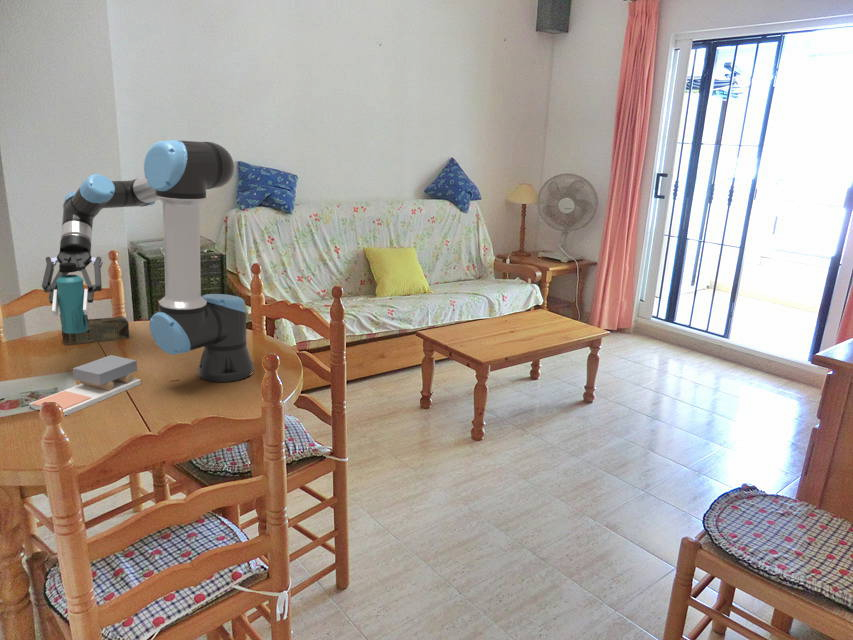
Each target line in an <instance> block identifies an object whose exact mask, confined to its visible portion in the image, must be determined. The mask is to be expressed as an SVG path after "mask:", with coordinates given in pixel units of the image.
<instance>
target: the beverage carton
mask: <svg viewBox="0 0 853 640" xmlns="http://www.w3.org/2000/svg"><path fill="white" fill-rule="evenodd" d="M88 322H89V324H88V325H89V326H88V330H87V331H85V332H82V333H75V334H69V333H64V332H63V330H62V329H61V336H62V340H63V343H64V346H71V345H80V344H89V343H98V342H99V343H100V342H107V341H109V342H110V341H118V340H119V341H120V340H126V339H128V340H129V339H130V329H129V328H130V325H129V320H128V319H127V318H126V316H116V317H105V318H102V317H101V318H90V319H89V318H88Z"/></svg>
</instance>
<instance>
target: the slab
mask: <svg viewBox="0 0 853 640" xmlns="http://www.w3.org/2000/svg"><path fill="white" fill-rule="evenodd" d="M137 371H138V365H137V360H135V359H130V358H126V357H122V356H117V355H113V354H110V355H107V356H104V357H101V358H99V359H95V360H93V361H91V362H87V363H84V364H82V365H78V366H76V367H73V368H72V373H73V380H75V381H83V382H87V383H92V384H96V385H103V384H105V383H108V382H111V381H113V380H116V379H118V378H121V377H123V376H126V375H128V374H131V375H132V374H134V373H135V372H137Z"/></svg>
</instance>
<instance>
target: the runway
mask: <svg viewBox="0 0 853 640" xmlns="http://www.w3.org/2000/svg"><path fill="white" fill-rule="evenodd" d="M139 385H142V381H141V379H139V378H134V377H133V375H132V373H131V374H128V375H126V376H123V377H121V378H118V379H116V380H113V381H111V382H108V383H105V384H103V385H96V384H92V383H87V382H83V381H80V383H79V384H77V385H74V386H72V387H69V388H66V389H64V390H61V391H59V392H56V393H53V394H50V395H49V396H46V397H43V398H40V399H37V400H35V401H32V402H30V403H28V406H29V405H32V406H35V407H38V408H39V407H40V405H41V404H42V403H44V402H56V403H57V404H59V405H60V406H61V407H62V409H63V412H64V417H66V416H65V415H67V416H69V415H71V414H74V413H77V412H79V411H80V410H82V409H85V408H87V407H90V406H92V405H95V404H97V403H100V402H102V401H104V400H106V399H109V398H111V397H114V396H116V395H118V394H120V393H123V392H125V391H127V390H130V389H132V388H135V387H137V386H139Z"/></svg>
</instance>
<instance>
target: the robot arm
mask: <svg viewBox="0 0 853 640" xmlns="http://www.w3.org/2000/svg"><path fill="white" fill-rule="evenodd" d="M143 173H144V175H143V176H140V177H138V178H135V179H131V180H111V179H110V178H109V177H107V176H104V175H102V174H100V173H95V174H91V175H88V177H87V178H86V180H84V181H83V182H82V183H81V184H80V187H78V189H77V190H76V191H72V192H69V193H67V194H66V195H65V198H64V201H63V203H62V204H63V205H62V209H63V210H62V211H63V212H62V224H61V233H60V243H59V253H58V254H57V256H55V257H50V256H46V257H45V262H46V266H45V271H44V274H43V280H42V283H41V287H42V289H43V292H44V293H49V294H48V301H49V303H50V304H51V312H52V314H53V316H54V317H58V315H59V299H58V290H57V283H56V280H57V279H58V278H59V277H60V276H62V275H69V273H62V272H59V270H58V271H57V273H56V274H55V276H54V278H53V275H54V270H55V267H56V265H57V263H59V264H62V263H75V264H76V267H77V271H76V272H81V274H82V277H83V280H84V282H85V285H86V288H84V302H83V311H84V314H85V315H87V316H88V315H89V310H90V309H89V308H90V307H89V306H90V303H91V304H92V303H94V297H95V295H94V294H95V292H101V291H102V290H103V288H102V273H101V272H102V271H101V268H102V266H103V260H102V257H101V256H97V257H93V256H92V254H91V253H92V239H93V237H92V235H93V224H94V219H95V217H96V216H97V215H98V214H99V213H100V212H101V211H102V210H103V209H112V208H113V209H114V208H115V209H116V208H128V207H129V208H131V207H133V208H134V207H140V208H142V207H147V206H153V205H155V203H156V201H160V202H162V220H163V221H162V223H163V224H162V225H163V251H164V252H163V255H164V257H163V258H164V286H165V287H164V289H165V291H164V292H165V293H164V294H165V295H164V296H163V297H162V298H161V299H160V300H159V302H158V304H159V305H158V306H159V307H158V308H159V311H157V312H156V313H154V314H153V315H152V316H151V318H150V320H149V330H150V334H151V337H152V339H153V341H154V342H155V344H156V345H157V346H158V347H159V349H160V350H162V351H163V352H164V353H166V354H168V355H174V356H175V355H179V354H186V353H189V352H190V351H193V350H197V349H200V348H203V352H202V355H201V358H200V362H199V365H198V376H199V377H200V378H201V379H203V380H205V381H209V382H213V383H228V382H236V381H240V379H241V380H244V379H243V378H245V377H247V376H249V375H250V374H251V373H252V372H253V373H254V363H253V361H252V358H251V355H250V353H249V349H248V347H247V310H246V303H245V300H244V299H243V298H242V297H240V296H237V295H232V294H224V293H223V294H222V293H207V294H204V295H202V294H201V293H202V291H201V290H202V289H201V288H202V287H201V286H202V285H201V284H202V283H201V273H202V272H201V204H202V203H203V202H204V201H205V200H207V190H212V189H218V188H221V187H224V186H225V185H227V184H228V183H229V182H230V181H231V179H232V178H233V175H234V173H235V163H234V160H233V157H232V155H231V153H229V151H228V150H227V149H226V148H224V146H222V145H220V144H218V143H215V142H212V141H194V140H178V139H171V140H159V141H156V142H155V143H153V144H152V146H151V147H150V148H149V149H148V150H147V152H146V154H145V156H144V163H143ZM91 263H92V265H93V270H94V271H93V273H94V284H93V283H92V281H91V279H90V275H89V274H88V273H89V272H87V269H86V268H87V267H88V266H89V265H90V264H91ZM249 377H250V376H249ZM247 378H248V377H247ZM245 379H246V378H245Z"/></svg>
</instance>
